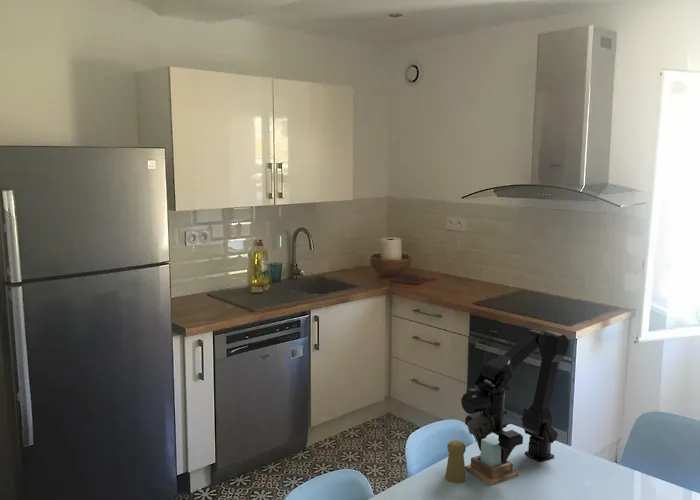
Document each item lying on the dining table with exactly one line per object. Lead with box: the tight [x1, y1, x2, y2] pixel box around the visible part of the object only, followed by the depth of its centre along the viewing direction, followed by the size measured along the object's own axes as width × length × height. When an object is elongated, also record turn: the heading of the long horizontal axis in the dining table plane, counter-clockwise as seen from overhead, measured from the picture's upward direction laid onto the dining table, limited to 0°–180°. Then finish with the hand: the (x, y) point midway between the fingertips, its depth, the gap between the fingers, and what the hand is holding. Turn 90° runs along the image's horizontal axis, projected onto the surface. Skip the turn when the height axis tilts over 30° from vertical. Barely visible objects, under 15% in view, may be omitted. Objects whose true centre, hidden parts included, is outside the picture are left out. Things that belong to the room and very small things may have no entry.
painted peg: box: [480, 436, 502, 468], centre depth 179 cm, size 5×5×9 cm
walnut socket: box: [465, 454, 519, 486], centre depth 180 cm, size 11×11×4 cm
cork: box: [444, 439, 467, 484], centre depth 176 cm, size 6×6×11 cm
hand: (492, 456), depth 179 cm, fingers open, 9 cm apart
